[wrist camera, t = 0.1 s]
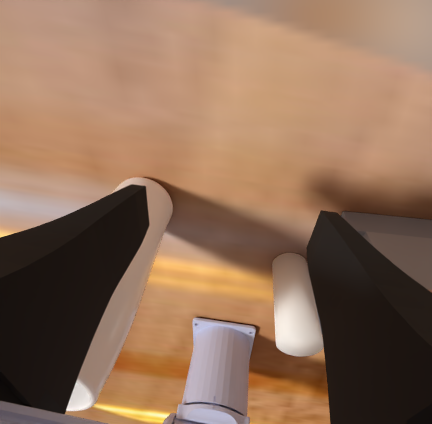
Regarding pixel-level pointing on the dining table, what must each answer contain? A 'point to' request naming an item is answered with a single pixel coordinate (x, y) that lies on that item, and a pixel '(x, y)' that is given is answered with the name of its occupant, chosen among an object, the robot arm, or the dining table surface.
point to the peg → (295, 307)
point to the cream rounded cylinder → (122, 301)
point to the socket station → (398, 242)
